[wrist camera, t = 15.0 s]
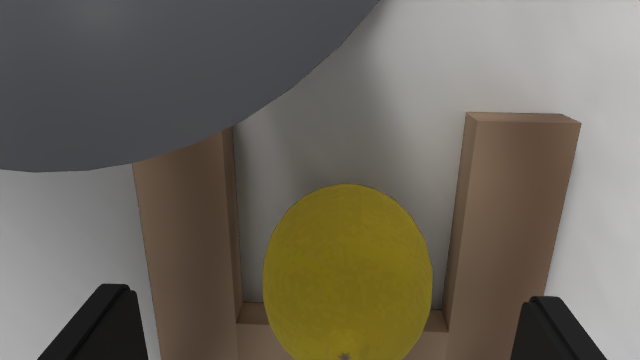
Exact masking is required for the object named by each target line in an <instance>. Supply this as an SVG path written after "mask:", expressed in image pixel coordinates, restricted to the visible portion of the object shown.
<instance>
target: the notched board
mask: <svg viewBox="0 0 640 360" xmlns="http://www.w3.org/2000/svg"><path fill="white" fill-rule="evenodd" d="M580 128H581V123H580V122H578V121H576V120H574V119H571V118H569V117H567V116H565V115H563V114H538V113H485V112H466V119H465V127H464V135H463V143H462V151H461V159H460V167H459V175H458V182H457V190H456V198H455V206H454V214H453V222H452V230H451V238H450V246H449V254H448V262H447V270H446V277H445V285H444V293H443V301H442V309H441V310H430V312H429V316H428V318H427V321H426V324H425V326H424V329H423V332H422V334H421V336H420V338H419V339H418V341H417V342H416V343H415V345H414V346H413V348H412V349H411V350H410V352H409V353H408V354H407V355H406V356H405V357H404V358H403V359H401V360H510V357H511V353H512V348H513V344H514V339H515V334H516V330H517V325H518V320H519V316H520V311H521V307H522V304H523V303H524V302H529V300H530V298H531V297H532V296H543V295H544V290H545V286H546V281H547V277H548V272H549V268H550V263H551V259H552V254H553V250H554V245H555V241H556V236H557V232H558V227H559V222H560V218H561V213H562V209H563V204H564V200H565V195H566V191H567V186H568V182H569V177H570V173H571V168H572V164H573V159H574V155H575V150H576V146H577V141H578V137H579V132H580ZM132 167H133V173H134V180H135V187H136V193H137V200H138V207H139V213H140V220H141V227H142V233H143V240H144V246H145V253H146V260H147V266H148V273H149V280H150V286H151V293H152V300H153V306H154V313H155V319H156V326H157V333H158V339H159V346H160V353H161V359H162V360H295V359H294V358H293V357H292V356H291V355H290V354H289V353H288V352H287V351H286V350H285V349H284V348H283V347H282V345H281V344H280V342H279V341H278V339H277V337H276V336H275V334H274V332H273V330H272V329H271V326H270V324H269V320H268V317H267V313H266V309H265V305H264V303H252V302H243V289H242V273H241V257H240V242H239V226H238V211H237V195H236V179H235V164H234V148H233V133H232V126H230V127H228V128H226V129H224V130H222V131H220V132H218V133H216V134H214V135H212V136H210V137H208V138H206V139H204V140H201V141H199V142H197V143H195V144H193V145H190V146H187V147H184V148H181V149H178V150H175V151H171V152H168V153H165V154H162V155H159V156H156V157H153V158H150V159H146V160H143V161H140V162H134V163H132Z"/></svg>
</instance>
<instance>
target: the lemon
mask: <svg viewBox="0 0 640 360" xmlns="http://www.w3.org/2000/svg"><path fill="white" fill-rule="evenodd" d="M432 282H433V273H432V265H431V261H430V257H429V253H428V249H427V245H426V242H425V240H424V237H423V236H422V234H421V232H420V230H419V229H418V227H417V225H416V224H415V222H414V220H413V218H412V217H411V216H410V214H409V213H408V212H407V211H406V210H405V209H404V208H403V207H401V206H400V205H399V204H398V203H397V202H396V201H395V200H394V199H393V198H391V197H389V196H387V195H385V194H384V193H382V192H380V191H378V190H376V189H373V188H369V187H366V186H362V185H357V184H337V185H332V186H328V187H323V188H320V189H318V190H316V191H314V192H312V193H310V194H307V195H306V196H304V197H303V198H302V199H300V200H299V201H298V202H297V203H296V204H294V205H293V206H292V207H291V208H289V210H288V211H287V212H286V213H285V215H284V216H283V218H282V219H281V221H280V222H279V223H278V225H277V226H276V228H275V230H274V231H273V234H272V236H271V239H270V242H269V245H268V248H267V251H266V254H265V258H264V264H263V284H262V292H263V300H264V305H265V309H266V313H267V317H268V320H269V324H270V326H271V329H272V330H273V332H274V334H275V336H276V337H277V339H278V341H279V342H280V344H281V345H282V347H283V348H284V349H285V350H286V351H287V352H288V353H289V354H290V355H291V356H292V357H293V358H294V359H295V360H401V359H403V358H404V357H405V356H406V355H407V354H408V353H409V352H410V350H411V349H412V348H413V346H414V345H415V343H416V342H417V341H418V339H419V338H420V336H421V334H422V332H423V329H424V326H425V324H426V321H427V318H428V316H429V312H430V308H431V301H432Z"/></svg>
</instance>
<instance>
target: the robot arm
mask: <svg viewBox="0 0 640 360" xmlns="http://www.w3.org/2000/svg"><path fill="white" fill-rule="evenodd" d="M37 360H148V355H147V349H146V343H145V338H144V332H143V327H142V321H141V316H140V310H139V304H138V299H137V294H136V292H135V291H133V290H130V288H129V286H128V285H126V284H101V285H100V286H99V287H98V288H97V289H96V290H95V292H94V293H93V294H92V295H91V296H90V298H89V299H88V300H87V301H86V302H85V303H84V305H83V306H82V307H81V308H80V309H79V311H78V312H77V313H76V314H75V315H74V316H73V318H72V319H71V320H70V321H69V322H68V324H67V325H66V326H65V327H64V328H63V329H62V331H61V332H60V333H59V334H58V335H57V337H56V338H55V339H54V340H53V341H52V342H51V344H50V345H49V346H48V347H47V348H46V350H45V351H44V352H43V353H42V354H41V355H40V357H39V358H38V359H37ZM510 360H607V359H606V358H605V356H604V355H603V354H602V352H601V351H600V350H599V348H598V347H597V346H596V344H595V343H594V342H593V340H592V339H591V338H590V336H589V335H588V334H587V332H586V331H585V330H584V328H583V327H582V326H581V325H580V323H579V322H578V321H577V319H576V318H575V317H574V315H573V314H572V313H571V311H570V310H569V309H568V307H567V306H566V305H565V303H564V302H563V301H562V300H561V299H560V298H559V297H553V296H532V297H531V298H530V300H529V302H524V303H523V304H522V307H521V311H520V316H519V320H518V325H517V330H516V334H515V339H514V344H513V348H512V353H511V357H510Z"/></svg>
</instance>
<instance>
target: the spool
mask: <svg viewBox="0 0 640 360" xmlns="http://www.w3.org/2000/svg"><path fill="white" fill-rule="evenodd" d="M378 1H379V0H0V169H3V170H14V171H25V172H58V171H84V170H93V169H99V168H105V167H111V166H116V165H122V164H128V163H134V162H140V161H143V160H146V159H150V158H153V157H156V156H159V155H162V154H165V153H168V152H171V151H175V150H178V149H181V148H184V147H187V146H190V145H193V144H195V143H197V142H199V141H201V140H204V139H206V138H208V137H210V136H212V135H214V134H216V133H218V132H220V131H222V130H224V129H226V128H228V127H230V126H233V125H235V124H237V123H239V122H241V121H243V120H244V119H246V118H247V117H249V116H250V115H252V114H253V113H255V112H256V111H258V110H259V109H261V108H262V107H264V106H265V105H267V104H268V103H270V102H271V101H273V100H274V99H276V98H277V97H279V96H280V95H282V94H283V93H285V92H286V91H288V90H289V89H291V88H292V87H294V86H295V85H296V84H297V83H298V82H299V81H300V80H301V79H303V78H304V77H305V76H306V75H307V74H308V73H309V72H311V71H312V70H313V69H314V68H315V67H316V66H317V65H318V64H320V63H321V62H322V61H323V60H324V59H325V58H326V57H327V56H329V55H330V54H331V53H332V52H333V51H334V50H335V49H337V48H338V47H339V46H340V45H341V44H342V43H343V42H344V40H345V39H346V38H347V37H348V36H349V35H350V34H351V32H352V31H353V30H354V29H355V28H356V27H357V25H358V24H359V23H360V22H361V21H362V20H363V19H364V17H365V16H366V15H367V14H368V13H369V12H370V11H371V9H372V8H373V7H374V6H375V5H376V4H377V3H378Z"/></svg>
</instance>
